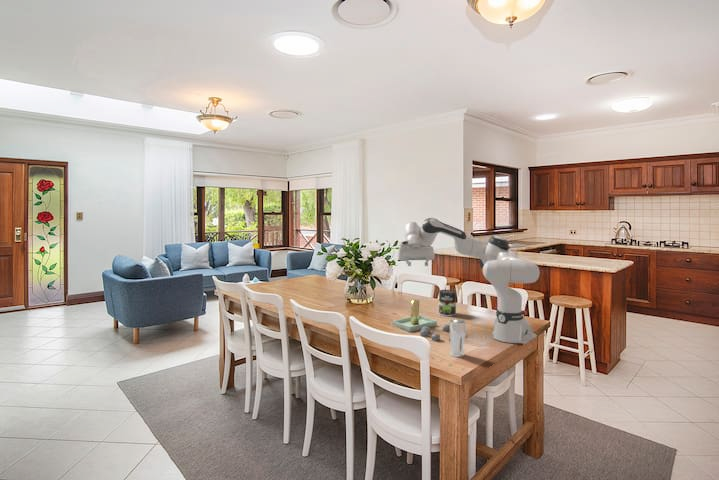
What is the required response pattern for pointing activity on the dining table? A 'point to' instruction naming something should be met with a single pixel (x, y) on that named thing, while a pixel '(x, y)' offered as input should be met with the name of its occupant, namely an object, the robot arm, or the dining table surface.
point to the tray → (407, 326)
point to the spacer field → (435, 336)
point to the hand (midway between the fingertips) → (418, 265)
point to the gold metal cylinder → (414, 312)
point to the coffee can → (447, 302)
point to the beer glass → (457, 337)
